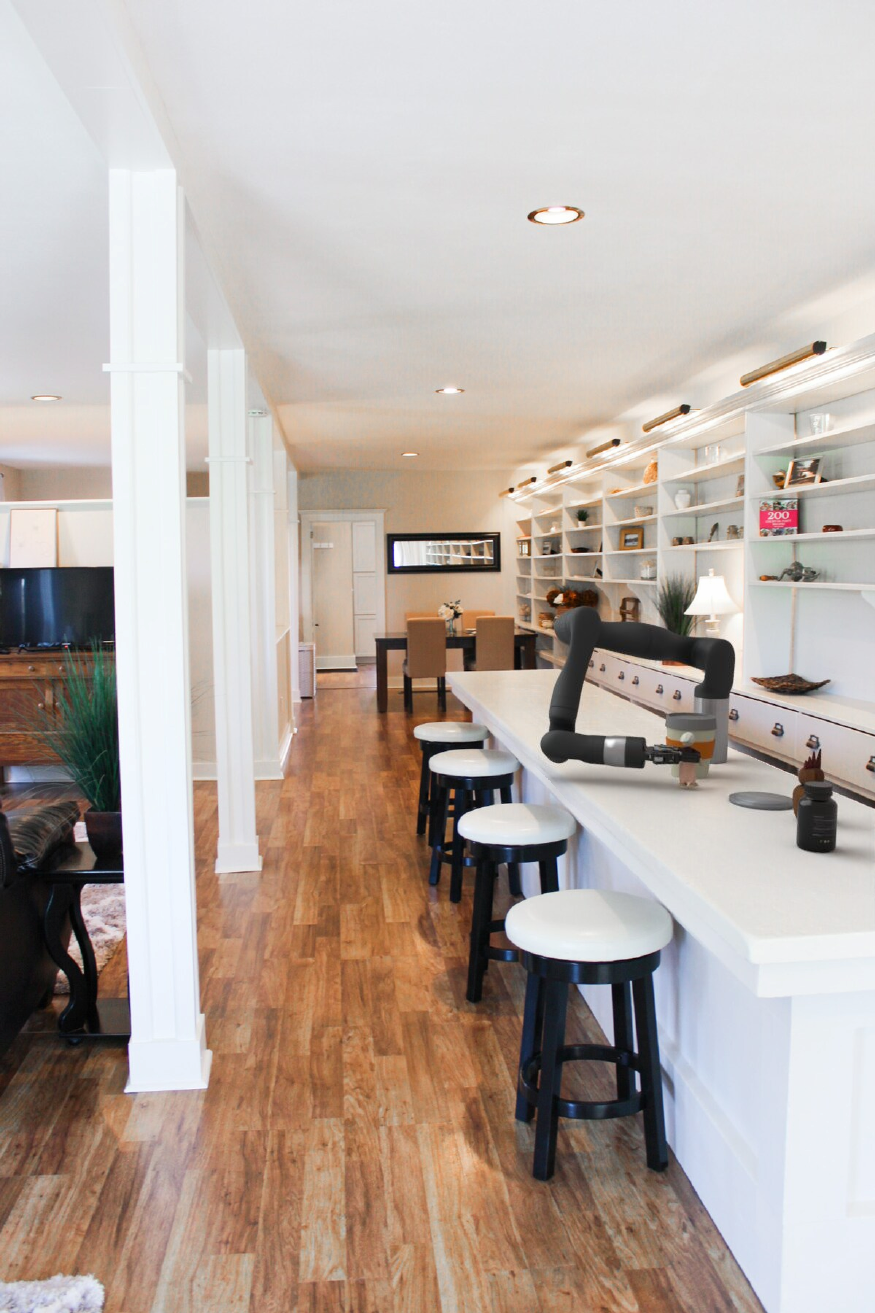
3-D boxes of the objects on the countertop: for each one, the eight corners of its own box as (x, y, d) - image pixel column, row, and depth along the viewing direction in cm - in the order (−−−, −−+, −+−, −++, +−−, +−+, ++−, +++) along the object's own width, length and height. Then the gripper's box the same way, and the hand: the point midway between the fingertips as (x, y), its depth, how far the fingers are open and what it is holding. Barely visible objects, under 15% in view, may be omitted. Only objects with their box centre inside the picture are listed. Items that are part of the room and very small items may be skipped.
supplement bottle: (789, 843, 176) (791, 780, 175) (824, 842, 176) (827, 779, 175) (806, 854, 169) (809, 788, 168) (843, 853, 169) (846, 788, 168)
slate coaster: (729, 792, 216) (729, 789, 216) (794, 798, 212) (794, 794, 212) (728, 806, 203) (728, 802, 203) (797, 812, 199) (797, 808, 199)
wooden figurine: (822, 818, 194) (825, 746, 193) (831, 826, 188) (834, 752, 187) (788, 817, 195) (791, 746, 193) (796, 824, 189) (799, 751, 188)
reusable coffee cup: (659, 777, 232) (661, 717, 231) (667, 768, 244) (669, 711, 242) (712, 782, 227) (714, 721, 226) (717, 772, 239) (719, 714, 238)
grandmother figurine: (702, 785, 221) (705, 732, 220) (702, 788, 218) (704, 734, 217) (669, 782, 224) (671, 729, 222) (668, 785, 220) (670, 732, 219)
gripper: (621, 741, 217) (699, 746, 212) (628, 731, 231) (702, 736, 225) (620, 773, 218) (697, 779, 213) (628, 761, 231) (700, 767, 226)
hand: (699, 757), depth 219 cm, fingers closed on grandmother figurine, 2 cm apart
